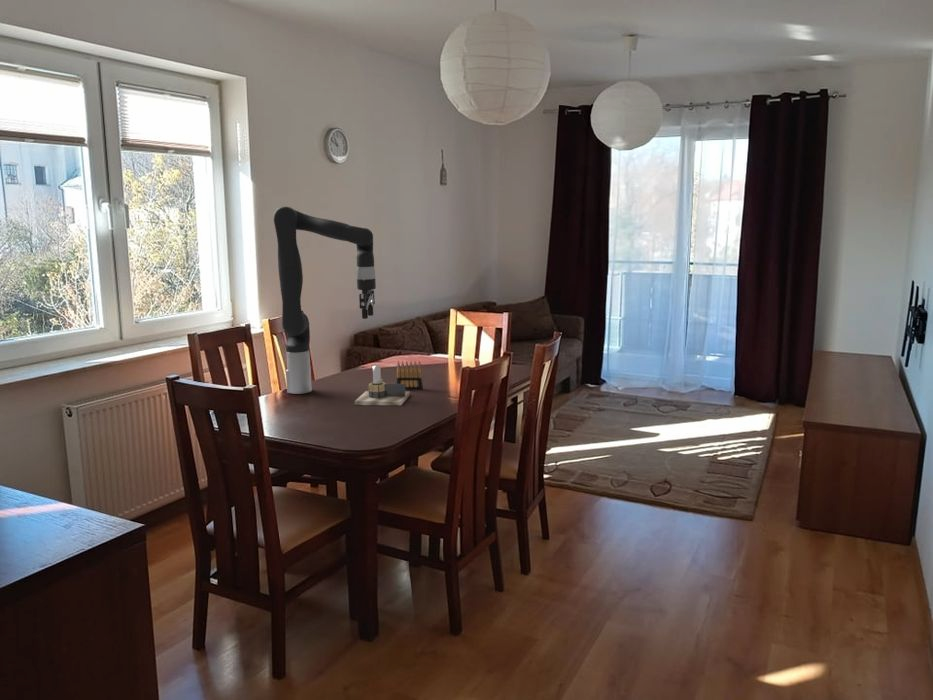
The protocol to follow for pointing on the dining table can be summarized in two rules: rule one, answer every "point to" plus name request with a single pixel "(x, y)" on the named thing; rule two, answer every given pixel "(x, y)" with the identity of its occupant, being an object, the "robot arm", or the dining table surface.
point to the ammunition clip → (410, 376)
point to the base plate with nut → (383, 395)
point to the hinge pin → (376, 375)
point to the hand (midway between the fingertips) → (367, 317)
